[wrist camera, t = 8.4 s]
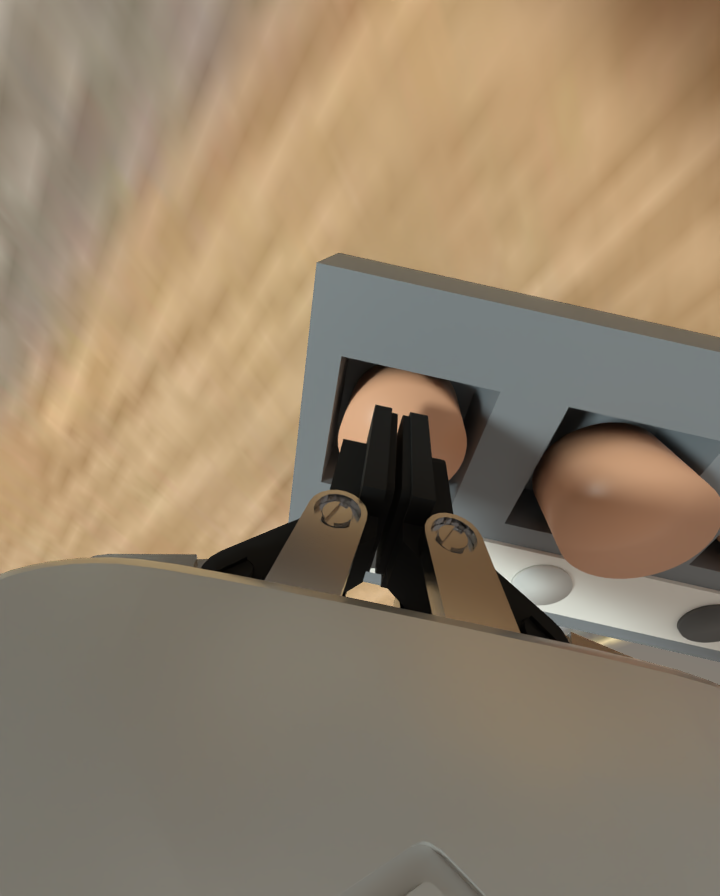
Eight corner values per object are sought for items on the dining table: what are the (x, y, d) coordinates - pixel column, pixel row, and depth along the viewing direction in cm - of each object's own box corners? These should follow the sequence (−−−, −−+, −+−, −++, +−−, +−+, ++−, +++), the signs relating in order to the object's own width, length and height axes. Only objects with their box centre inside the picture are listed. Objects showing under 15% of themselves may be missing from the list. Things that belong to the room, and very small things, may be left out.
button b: (566, 409, 13) (603, 455, 11) (694, 438, 13) (762, 491, 11) (513, 506, 16) (532, 561, 13) (620, 530, 16) (661, 590, 13)
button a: (360, 346, 15) (349, 373, 12) (473, 372, 15) (486, 404, 12) (341, 443, 18) (329, 482, 15) (439, 464, 18) (443, 507, 15)
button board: (339, 253, 15) (313, 263, 11) (933, 385, 14) (1113, 442, 11) (303, 511, 22) (281, 569, 18) (694, 599, 22) (751, 676, 18)
